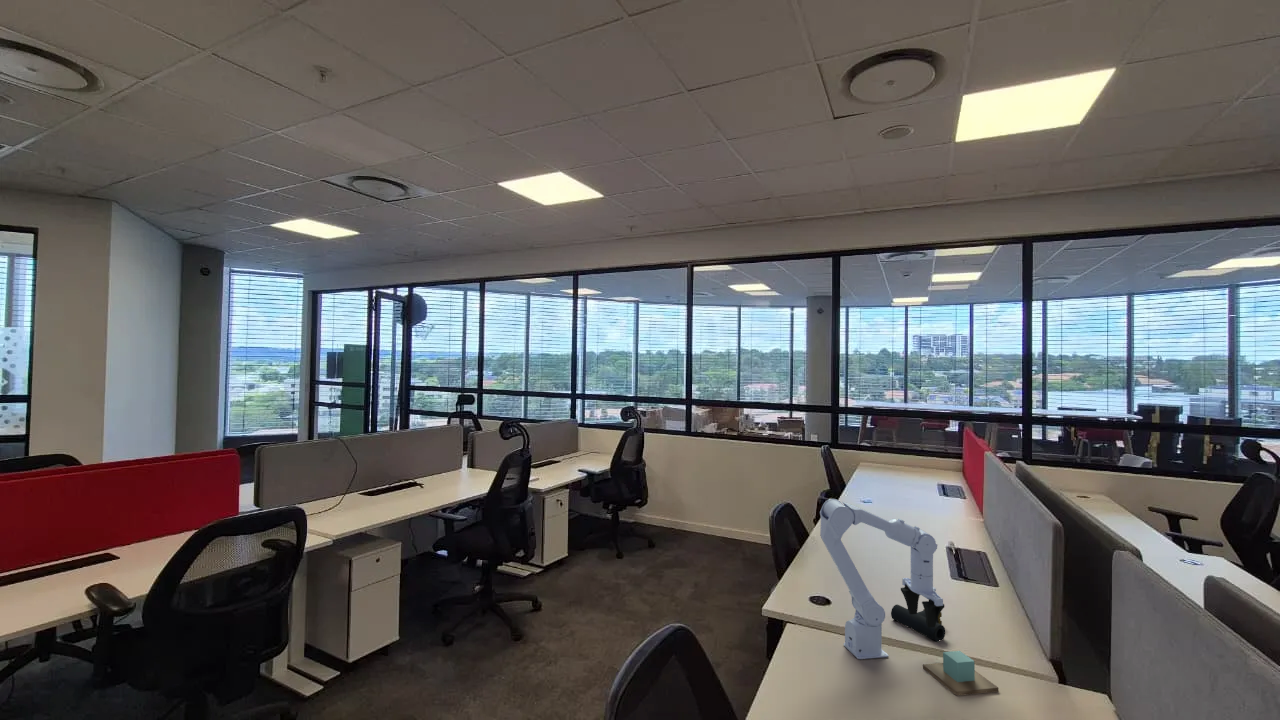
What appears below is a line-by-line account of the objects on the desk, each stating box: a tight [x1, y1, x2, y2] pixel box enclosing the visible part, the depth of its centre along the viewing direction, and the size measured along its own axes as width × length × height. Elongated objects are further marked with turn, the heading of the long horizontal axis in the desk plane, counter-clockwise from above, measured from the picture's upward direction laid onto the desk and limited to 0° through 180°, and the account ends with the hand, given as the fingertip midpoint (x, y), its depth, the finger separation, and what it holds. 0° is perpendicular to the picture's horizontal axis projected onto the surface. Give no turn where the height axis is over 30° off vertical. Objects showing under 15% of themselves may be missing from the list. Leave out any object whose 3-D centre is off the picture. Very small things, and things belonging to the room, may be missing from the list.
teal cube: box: [942, 650, 976, 682], centre depth 136 cm, size 5×5×5 cm
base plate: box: [922, 662, 999, 697], centre depth 136 cm, size 12×12×4 cm
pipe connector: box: [890, 604, 946, 642], centre depth 163 cm, size 12×5×15 cm
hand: (921, 620), depth 148 cm, fingers open, 7 cm apart
